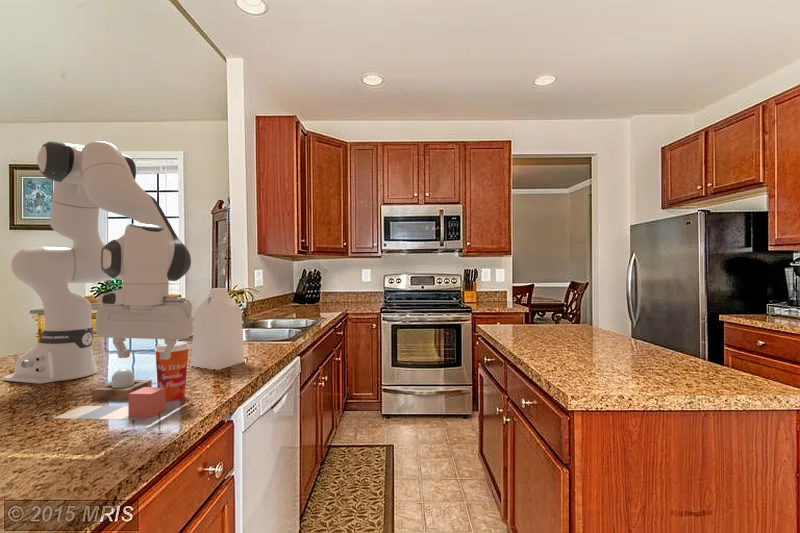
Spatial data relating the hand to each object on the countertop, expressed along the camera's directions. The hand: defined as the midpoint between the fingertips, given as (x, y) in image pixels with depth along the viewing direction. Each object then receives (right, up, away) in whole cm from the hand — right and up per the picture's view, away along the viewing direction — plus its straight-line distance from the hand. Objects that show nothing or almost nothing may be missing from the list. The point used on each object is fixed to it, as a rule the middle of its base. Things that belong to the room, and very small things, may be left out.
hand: (144, 358), depth 91 cm
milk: (-5, -13, +49) cm, 51 cm away
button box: (-14, -13, +13) cm, 23 cm away
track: (-7, -13, 0) cm, 15 cm away
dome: (-14, -12, +13) cm, 23 cm away
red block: (+1, -12, -1) cm, 12 cm away
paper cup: (0, -13, +11) cm, 17 cm away
